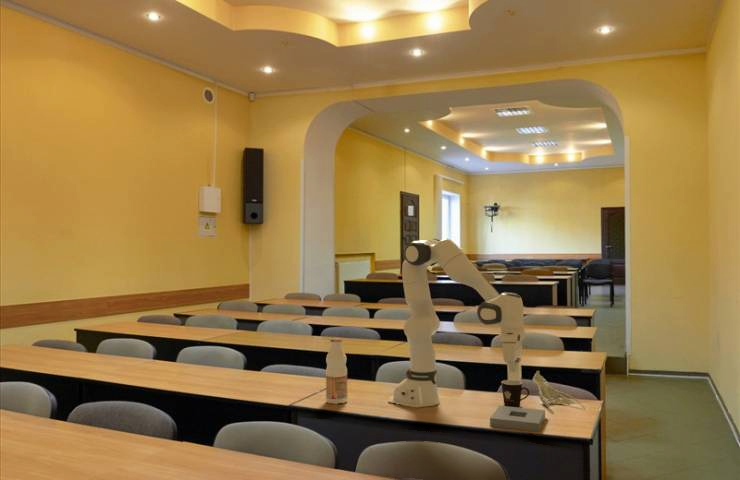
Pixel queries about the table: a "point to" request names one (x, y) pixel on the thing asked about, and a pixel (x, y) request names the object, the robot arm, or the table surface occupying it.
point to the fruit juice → (336, 373)
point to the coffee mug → (512, 393)
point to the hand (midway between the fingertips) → (514, 370)
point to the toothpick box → (517, 374)
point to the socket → (518, 418)
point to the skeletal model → (551, 393)
